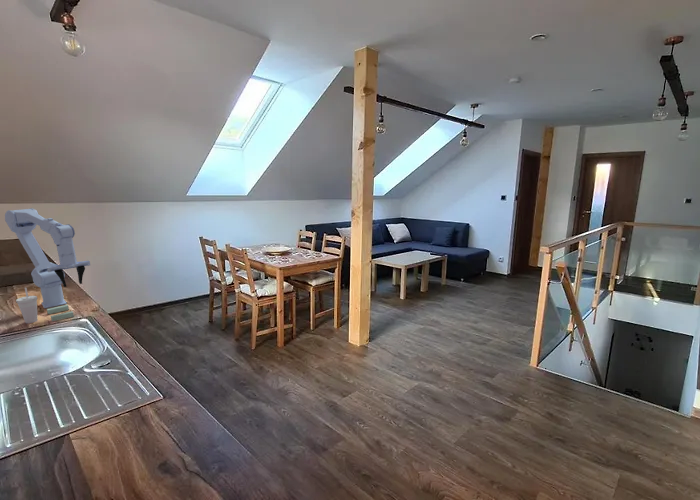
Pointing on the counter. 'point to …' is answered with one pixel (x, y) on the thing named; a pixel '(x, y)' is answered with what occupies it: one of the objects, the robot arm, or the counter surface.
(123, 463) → the counter surface
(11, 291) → the counter surface
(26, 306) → the smoothie
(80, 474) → the counter surface
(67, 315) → the slot
